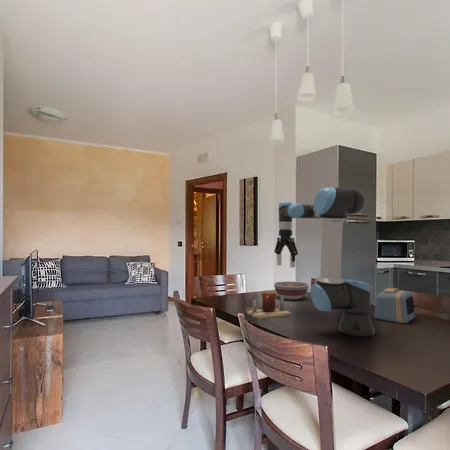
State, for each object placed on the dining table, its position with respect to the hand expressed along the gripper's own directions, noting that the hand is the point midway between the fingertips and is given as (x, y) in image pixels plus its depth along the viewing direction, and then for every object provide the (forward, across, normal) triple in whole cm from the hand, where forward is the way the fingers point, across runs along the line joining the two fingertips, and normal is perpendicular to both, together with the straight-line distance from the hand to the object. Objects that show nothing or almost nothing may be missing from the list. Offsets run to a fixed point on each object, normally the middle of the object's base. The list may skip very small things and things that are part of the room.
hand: (285, 266), depth 197 cm
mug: (+24, -2, +13) cm, 28 cm away
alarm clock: (+26, -37, -42) cm, 62 cm away
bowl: (+26, +30, -25) cm, 47 cm away
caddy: (+26, -2, +13) cm, 29 cm away
